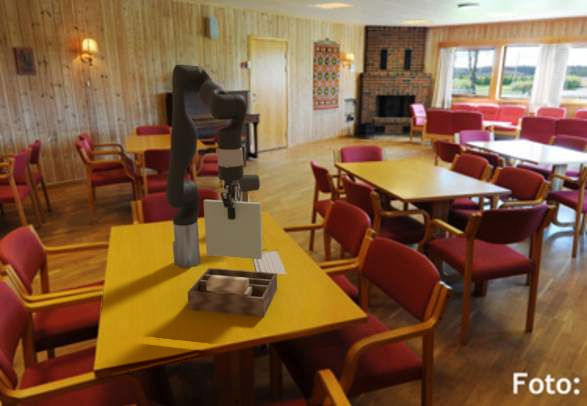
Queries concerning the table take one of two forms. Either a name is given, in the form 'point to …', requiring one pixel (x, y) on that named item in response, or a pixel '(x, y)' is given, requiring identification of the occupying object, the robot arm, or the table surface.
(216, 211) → the tall sheet
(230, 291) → the offcut top
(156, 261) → the table surface
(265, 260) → the baseboard molding
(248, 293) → the offcut middle
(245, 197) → the rubber mallet
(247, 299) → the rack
